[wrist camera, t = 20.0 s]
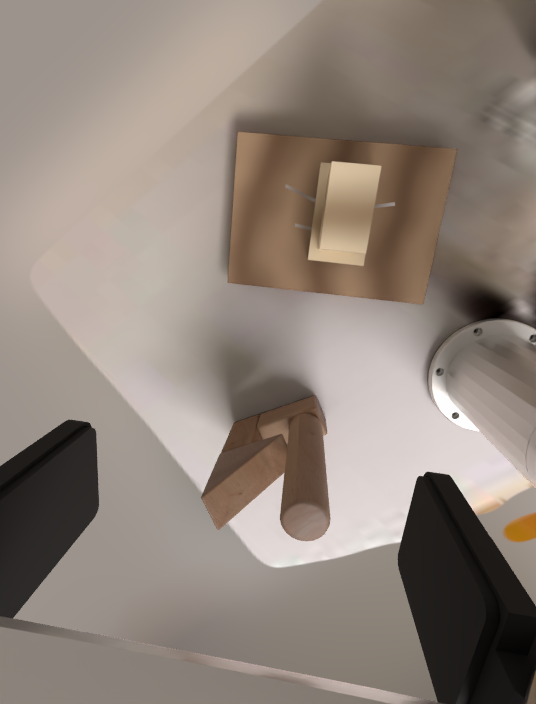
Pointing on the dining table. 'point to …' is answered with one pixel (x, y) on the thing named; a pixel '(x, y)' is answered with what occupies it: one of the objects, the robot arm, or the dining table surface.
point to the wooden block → (275, 468)
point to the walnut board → (298, 210)
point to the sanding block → (343, 212)
